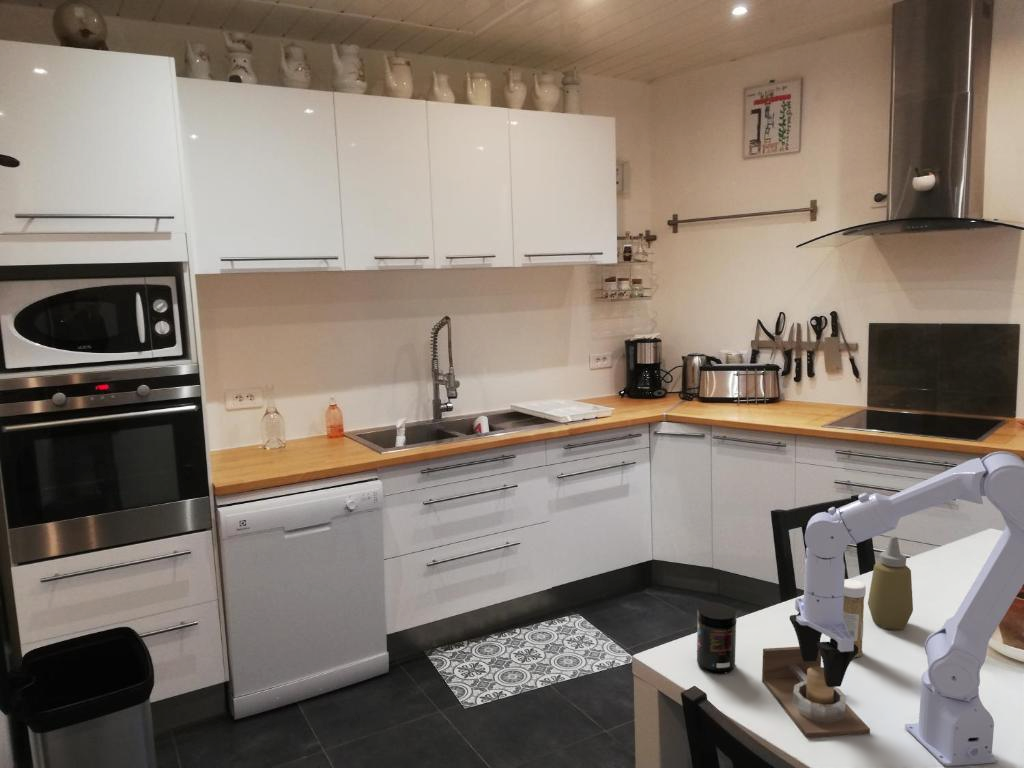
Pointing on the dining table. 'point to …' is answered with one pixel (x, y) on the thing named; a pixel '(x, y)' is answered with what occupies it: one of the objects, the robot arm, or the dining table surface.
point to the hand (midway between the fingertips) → (820, 672)
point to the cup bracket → (789, 689)
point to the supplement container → (716, 637)
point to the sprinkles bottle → (854, 610)
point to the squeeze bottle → (891, 589)
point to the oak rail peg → (818, 687)
